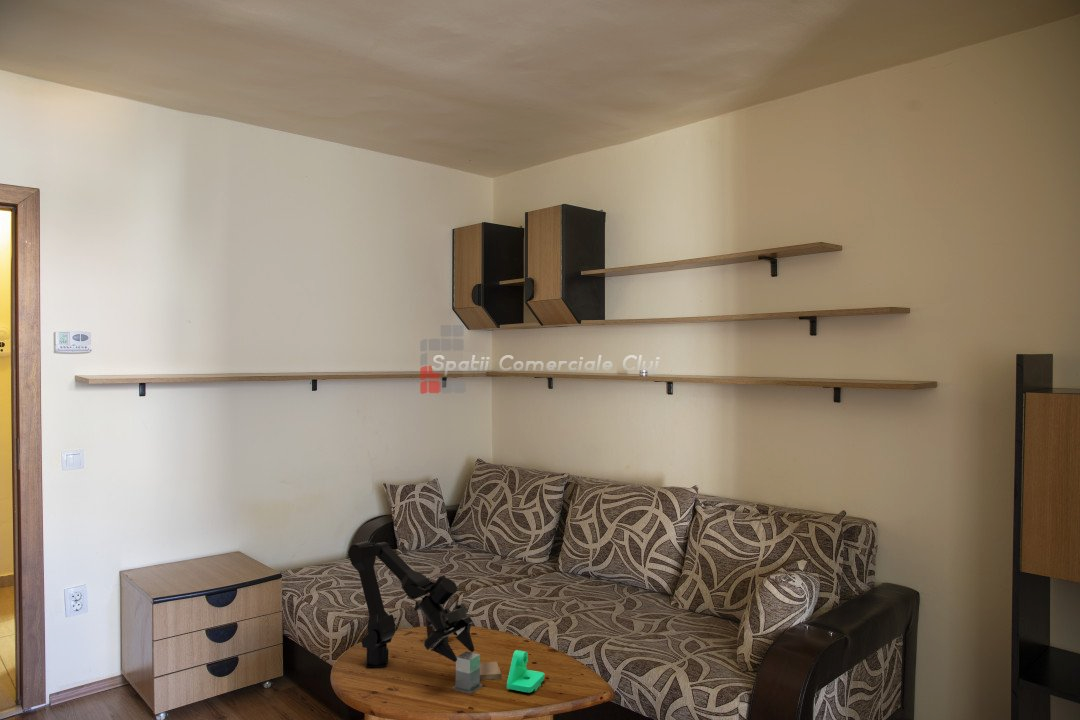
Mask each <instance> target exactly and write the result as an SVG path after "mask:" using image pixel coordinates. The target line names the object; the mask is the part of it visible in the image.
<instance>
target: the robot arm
mask: <svg viewBox="0 0 1080 720" xmlns="http://www.w3.org/2000/svg"><path fill="white" fill-rule="evenodd" d="M347 553H348V554H347V555H348V558H349V561H350V563H351V565H352V567H353V568H354V569H355V570H356V571H357V572H358V575H359V579H360V583H361V586H362V590H363V595H364V600H365V602H366V606H367V611H368V615H369V618H368V622H367V625H366V626H367V634H366V635H365V636H364V637H363V638H362V639H361V642H360V643H361V645H362V648H364V649H366V660H365V661H366V662H365V668H366V667H369V668H368V669H370V667H374V668H386V667H387V666H388V665H387V664H388V663H389V647H388V645H387V644H389V643H392V639H393V637H394V636H395V633H396V627H397V624H396V623H395V620H394V619H395V618H394V615H393V614H389V613H388V612H386V610H385V607H384V603H383V598H382V594H381V590H380V587H379V583H378V579H377V575H376V571H375V564H376V558H378V560H380V561H381V562H382V563H383V564H384V565H385V566H386V567H387V569H388V570H389V571H390V572H391V573H392V574H393V575H394V577H396V578H397V579H398V580H399V582H400V583H401V589H402V590H403V592H404V593H405V594H406V596H407V597H408V598H409V599H411V600H416V599H419V598H421V599H419V600H416V601H415V604H414V611H415V612H417V611H419V610H421V611H422V613H423V614H424V615H426V616H425V618H426V617H427V618H428V620H429V621H430V622H429V623H428V625H429V626H431V625H432V626H433V627H434V629H435V630H436V631H434V632H433V633H432V634H431V635H430V636H429V637H428V638H427V637H426V638H425V639H424V641H423V643H424V644H423V646H424V647H425V649H426V650H427V651H431V652H435V653H437V654H439V655H441V656H443V657H445V658H446V659H448V660H450V661H451V662H454V663H456V661H457V658H456V657H457V656H456V654H455V652H454V650H453V649H452V646H450V644H449V636H451V635H452V634H453V635H454V636H456V637H455V639H456V640H458V642H460V644H462V645H463V646H464V647H465V648H466V649H467V650H468V651H469V652H472V653H474V651H475V646H474V643H473V640H472V636H471V627H472V626H473V625H472V624H473V623H474V620H473V619H472V618H471V617H470V616H468V615H467V613H468V612H469V611H468V610H469V609H468V608H467V606H466V605H465V604H464V603H460V604H457V605H456V607H455V609H454V610H450V609H449V608H445V607H443V605H445V604H446V603H448V601H449V600H450V599H452V597H453V596H454V595H455V594H457V592H458V586H457V584H456V583H455V581H453V580H452V579H450V578H448V577H446V576H445V575H440V576H438V578H437V580H436V581H435V582H434V581H432V580H430V579H429V578H428V577H427V576H426V575H424V574H423V573H421V572H419V571H416V570H414V569H412V568H411V567H410V566H409V565H408V563H406V562H405V561H404V559H402V557H400V556H399V554H397V552H395V551H394V550H393V549H392V547H391V545H390V544H389V543H388V542H385V541H383V542H373V543H372V542H371V541H368V540H367V541H362V542H358V543H354V544H352V545H351V546H350V547H349V549H348V551H347Z"/></svg>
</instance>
